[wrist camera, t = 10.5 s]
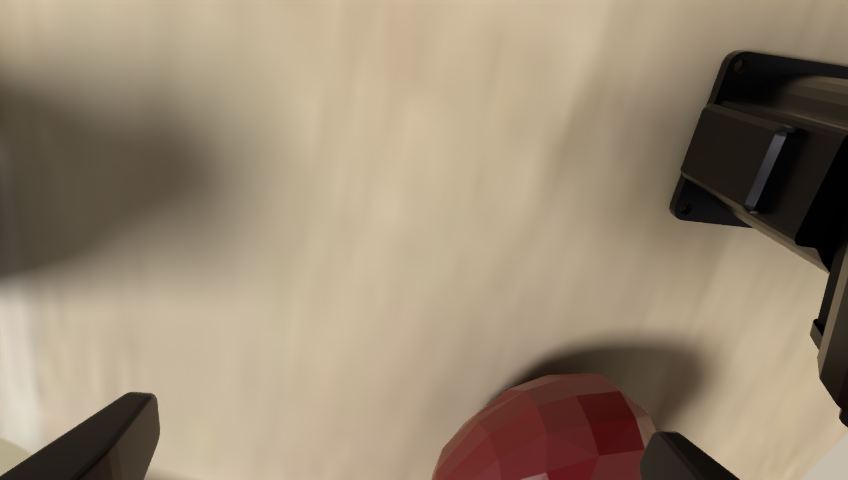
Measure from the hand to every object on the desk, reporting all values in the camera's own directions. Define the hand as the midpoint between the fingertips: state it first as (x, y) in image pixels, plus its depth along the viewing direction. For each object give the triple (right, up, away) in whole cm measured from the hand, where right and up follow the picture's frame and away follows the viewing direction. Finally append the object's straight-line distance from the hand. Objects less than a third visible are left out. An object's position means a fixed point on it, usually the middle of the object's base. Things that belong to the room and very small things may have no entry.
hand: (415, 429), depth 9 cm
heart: (+5, -6, +17) cm, 19 cm away
